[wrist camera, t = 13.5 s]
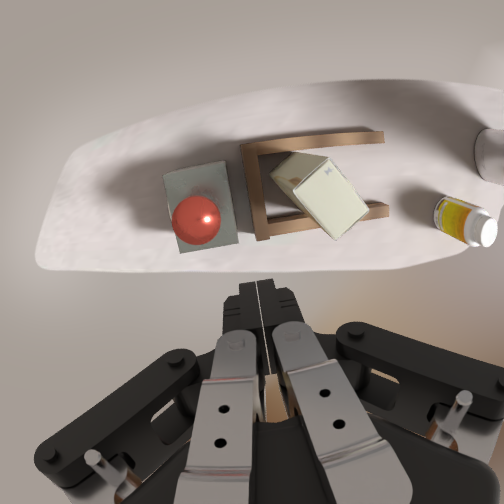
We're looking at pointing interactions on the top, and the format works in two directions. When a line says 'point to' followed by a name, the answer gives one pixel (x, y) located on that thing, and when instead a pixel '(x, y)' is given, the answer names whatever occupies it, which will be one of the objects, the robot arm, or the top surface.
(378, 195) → the top surface
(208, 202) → the button
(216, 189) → the cabinet
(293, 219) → the rail
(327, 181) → the skincare box
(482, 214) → the supplement bottle
